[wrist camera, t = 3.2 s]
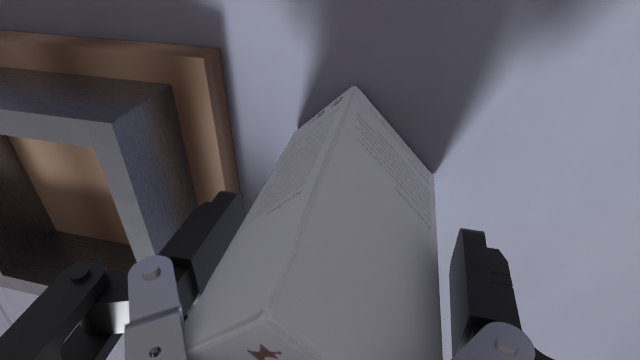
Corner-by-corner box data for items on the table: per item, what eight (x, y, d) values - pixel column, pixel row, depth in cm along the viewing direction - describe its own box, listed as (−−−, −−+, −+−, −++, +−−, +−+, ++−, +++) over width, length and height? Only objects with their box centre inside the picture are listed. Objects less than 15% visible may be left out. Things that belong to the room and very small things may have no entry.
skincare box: (291, 132, 19) (140, 363, 9) (360, 76, 17) (253, 308, 7) (371, 216, 21) (314, 484, 11) (445, 175, 18) (454, 473, 9)
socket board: (219, 48, 17) (145, 94, 13) (251, 276, 26) (214, 350, 22) (-60, 25, 21) (-195, 56, 16) (51, 235, 29) (-18, 293, 25)
